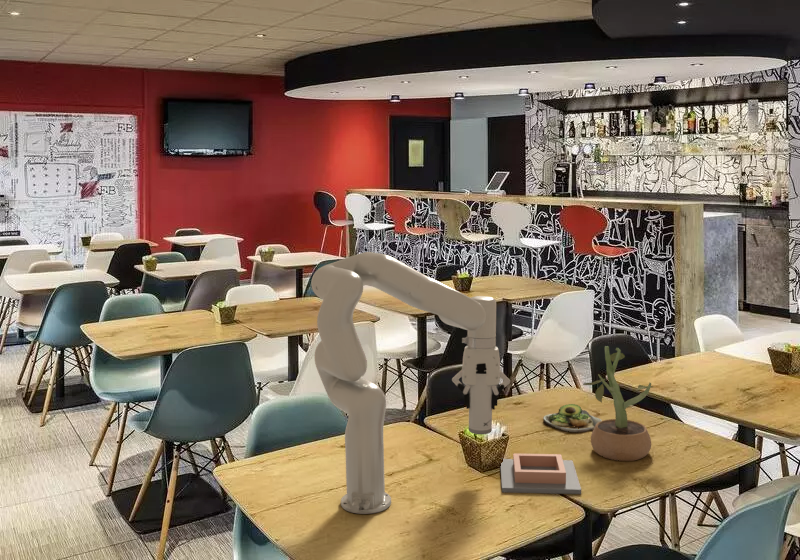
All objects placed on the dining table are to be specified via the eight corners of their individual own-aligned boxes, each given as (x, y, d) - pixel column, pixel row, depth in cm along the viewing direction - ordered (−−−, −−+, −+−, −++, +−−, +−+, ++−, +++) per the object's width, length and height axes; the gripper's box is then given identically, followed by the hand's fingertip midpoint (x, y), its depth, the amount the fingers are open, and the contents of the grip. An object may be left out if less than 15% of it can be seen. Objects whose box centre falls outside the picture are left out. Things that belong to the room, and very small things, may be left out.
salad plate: (619, 429, 248) (619, 415, 247) (575, 439, 240) (575, 424, 239) (578, 412, 265) (578, 399, 264) (535, 421, 257) (536, 408, 256)
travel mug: (491, 435, 209) (493, 362, 206) (467, 433, 210) (468, 361, 207) (493, 428, 215) (495, 357, 212) (469, 426, 216) (471, 355, 213)
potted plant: (666, 456, 223) (669, 354, 219) (615, 467, 216) (617, 361, 212) (616, 432, 244) (618, 338, 239) (567, 441, 237) (568, 344, 233)
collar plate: (581, 494, 199) (581, 478, 198) (502, 492, 201) (502, 476, 201) (572, 464, 219) (572, 450, 218) (500, 462, 221) (500, 448, 220)
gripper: (448, 344, 206) (447, 410, 209) (514, 346, 205) (513, 413, 207) (449, 339, 214) (449, 402, 216) (513, 340, 212) (512, 404, 214)
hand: (480, 407), depth 211 cm, fingers closed on travel mug, 6 cm apart
